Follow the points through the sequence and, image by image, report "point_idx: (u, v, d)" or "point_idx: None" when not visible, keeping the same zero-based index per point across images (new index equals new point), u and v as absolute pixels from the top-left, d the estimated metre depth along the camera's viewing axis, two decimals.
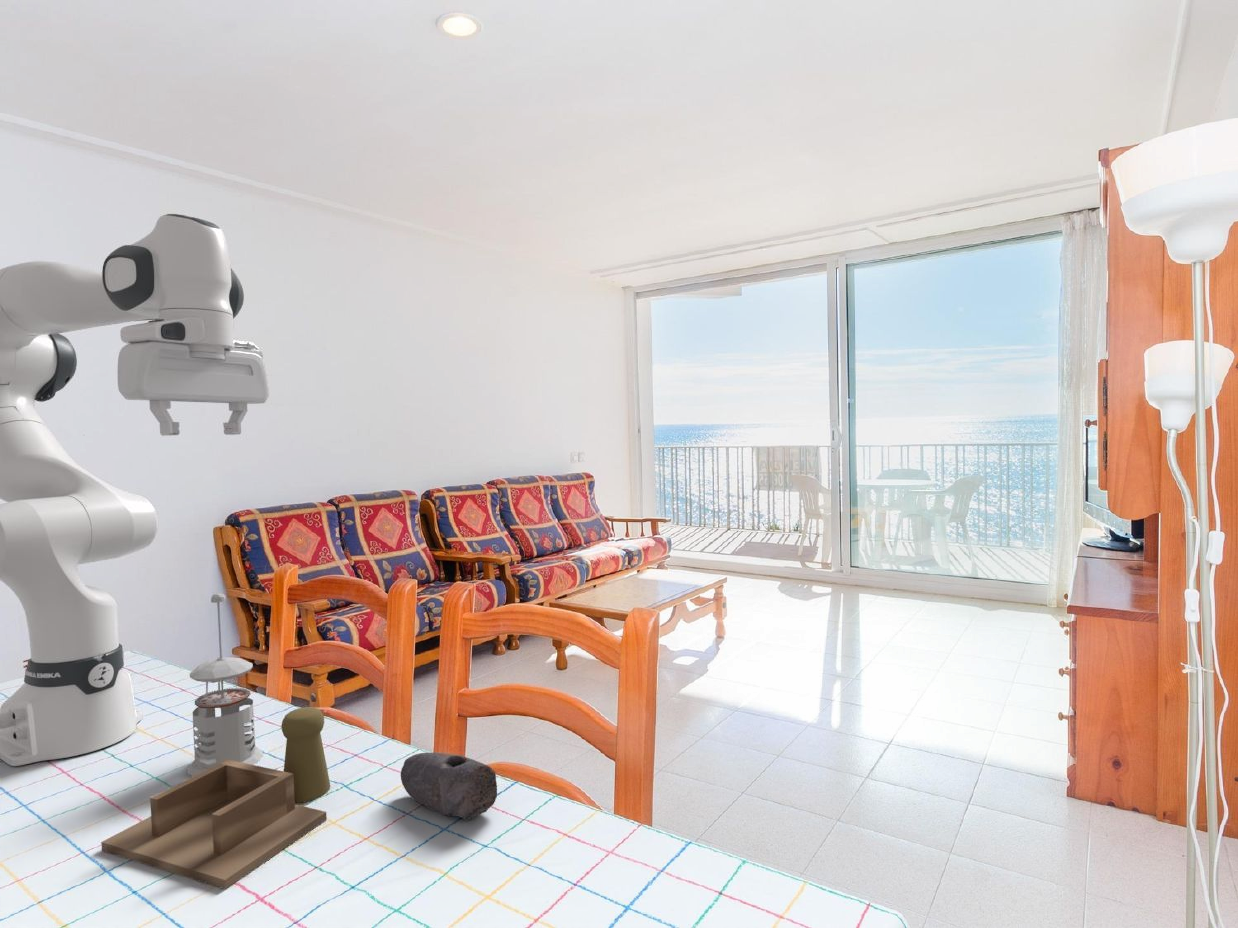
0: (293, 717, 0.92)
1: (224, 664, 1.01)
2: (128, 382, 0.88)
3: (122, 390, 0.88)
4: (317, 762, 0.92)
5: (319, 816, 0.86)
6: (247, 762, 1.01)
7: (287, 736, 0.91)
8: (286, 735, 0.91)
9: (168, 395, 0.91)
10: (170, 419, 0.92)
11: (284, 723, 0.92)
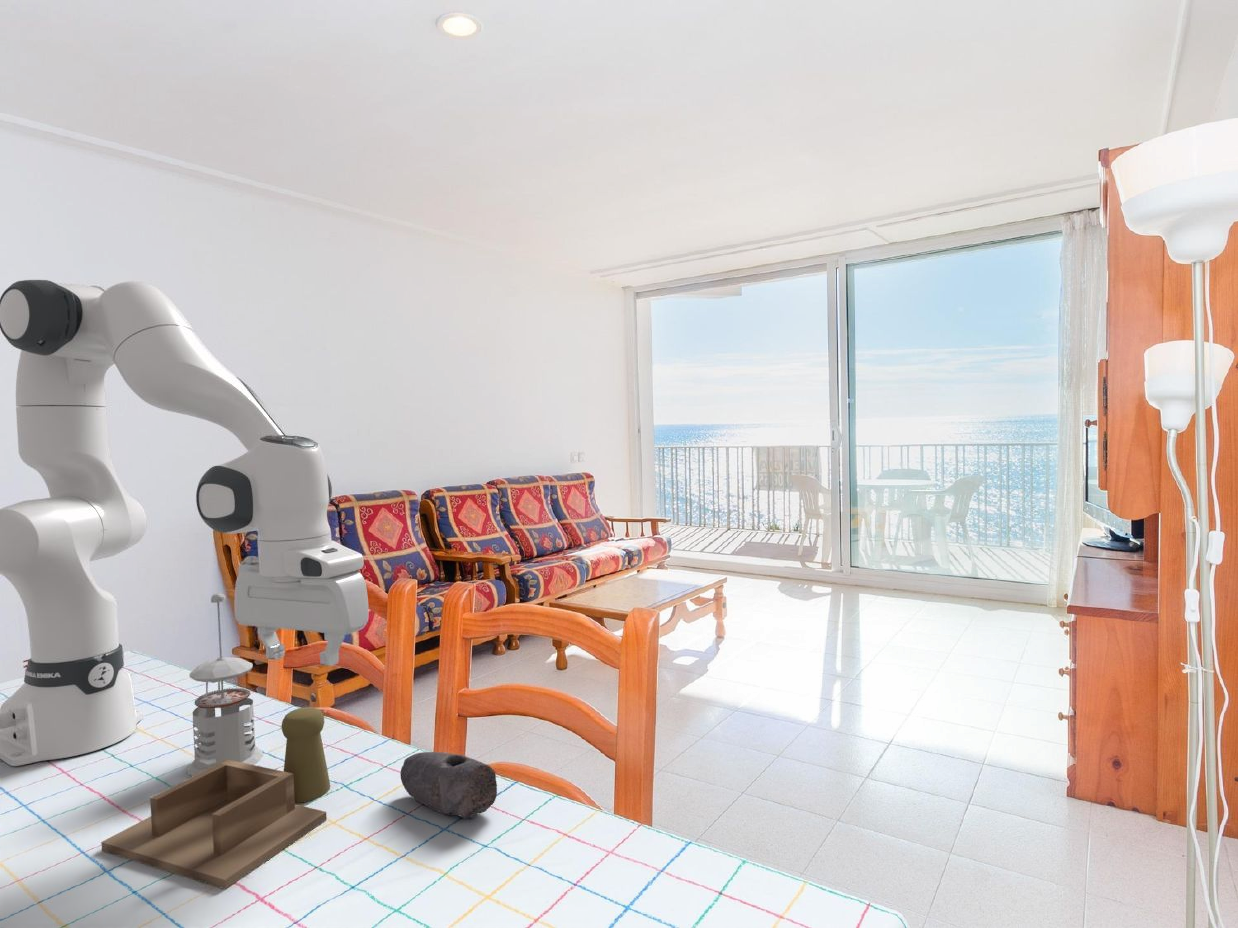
0: (293, 717, 0.92)
1: (224, 664, 1.01)
2: (360, 615, 0.89)
3: (355, 624, 0.88)
4: (317, 762, 0.92)
5: (319, 816, 0.86)
6: (247, 762, 1.01)
7: (287, 736, 0.91)
8: (286, 735, 0.91)
9: None
10: None
11: (284, 723, 0.92)
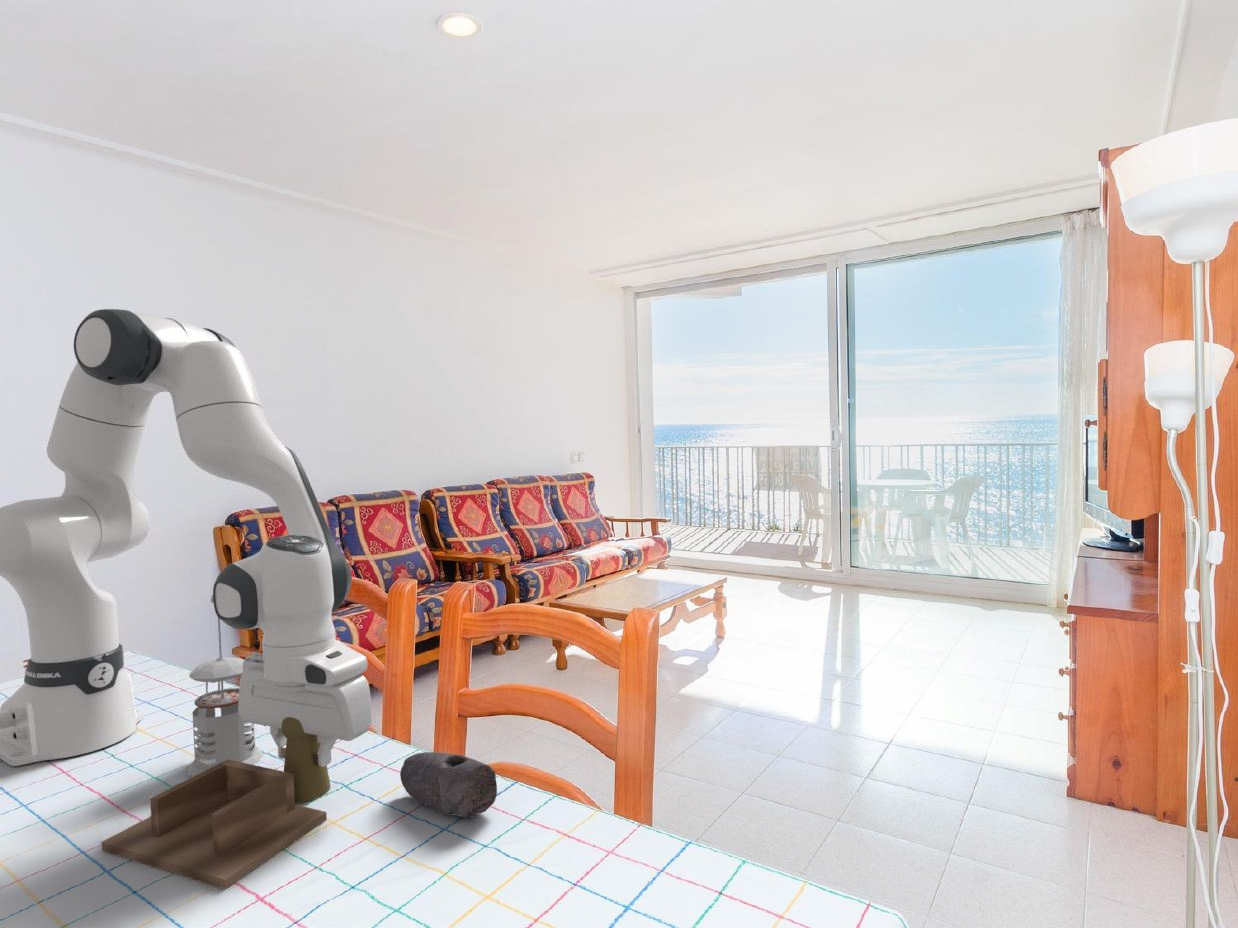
0: None
1: (224, 664, 1.01)
2: (364, 720, 0.90)
3: (358, 730, 0.89)
4: None
5: (319, 816, 0.86)
6: (247, 762, 1.01)
7: (287, 736, 0.91)
8: (286, 735, 0.91)
9: None
10: None
11: (284, 723, 0.92)
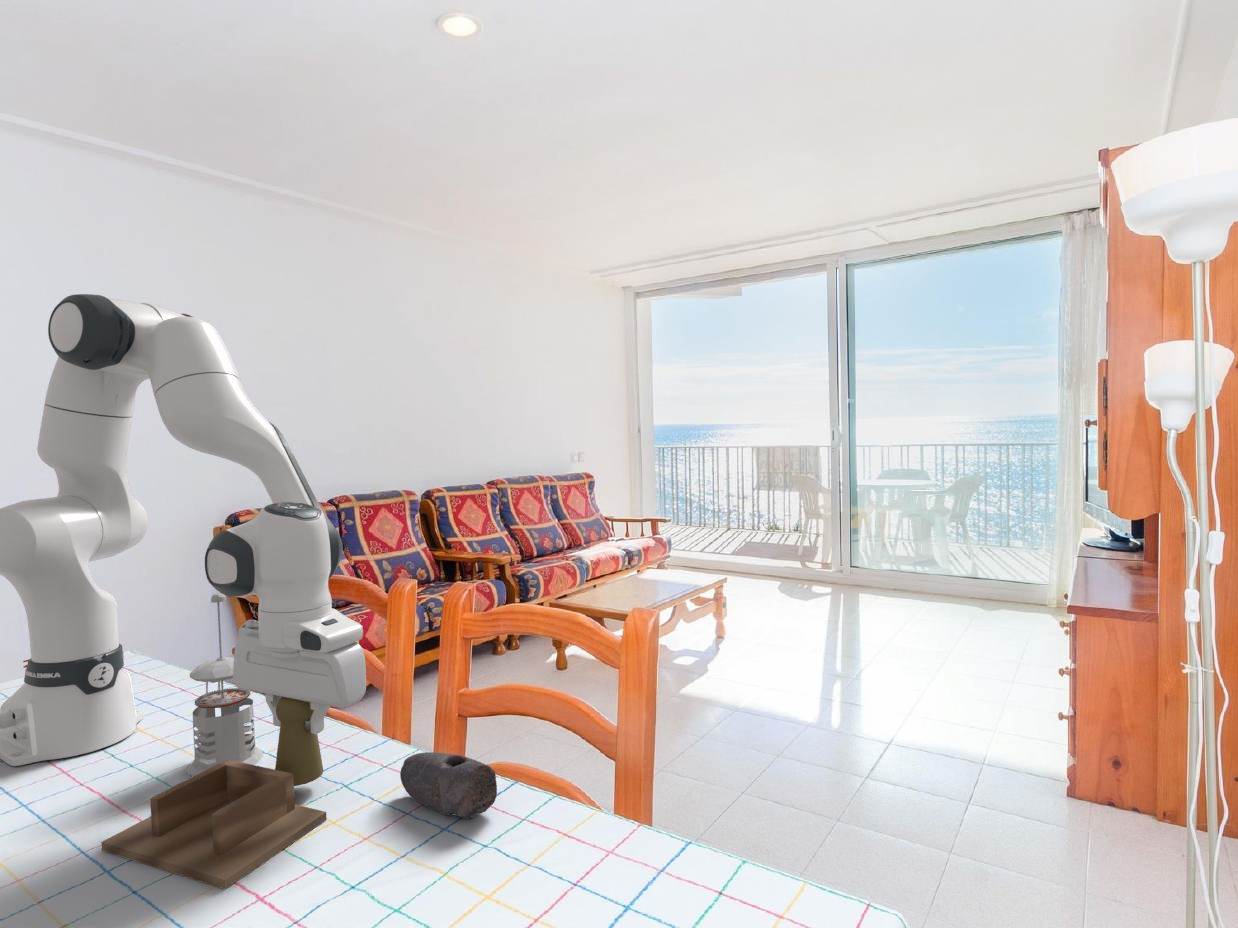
0: (287, 700, 0.91)
1: (224, 664, 1.01)
2: (358, 688, 0.89)
3: (352, 698, 0.88)
4: (310, 746, 0.92)
5: (319, 816, 0.86)
6: (247, 762, 1.01)
7: (281, 719, 0.91)
8: (280, 718, 0.91)
9: None
10: None
11: (278, 706, 0.91)
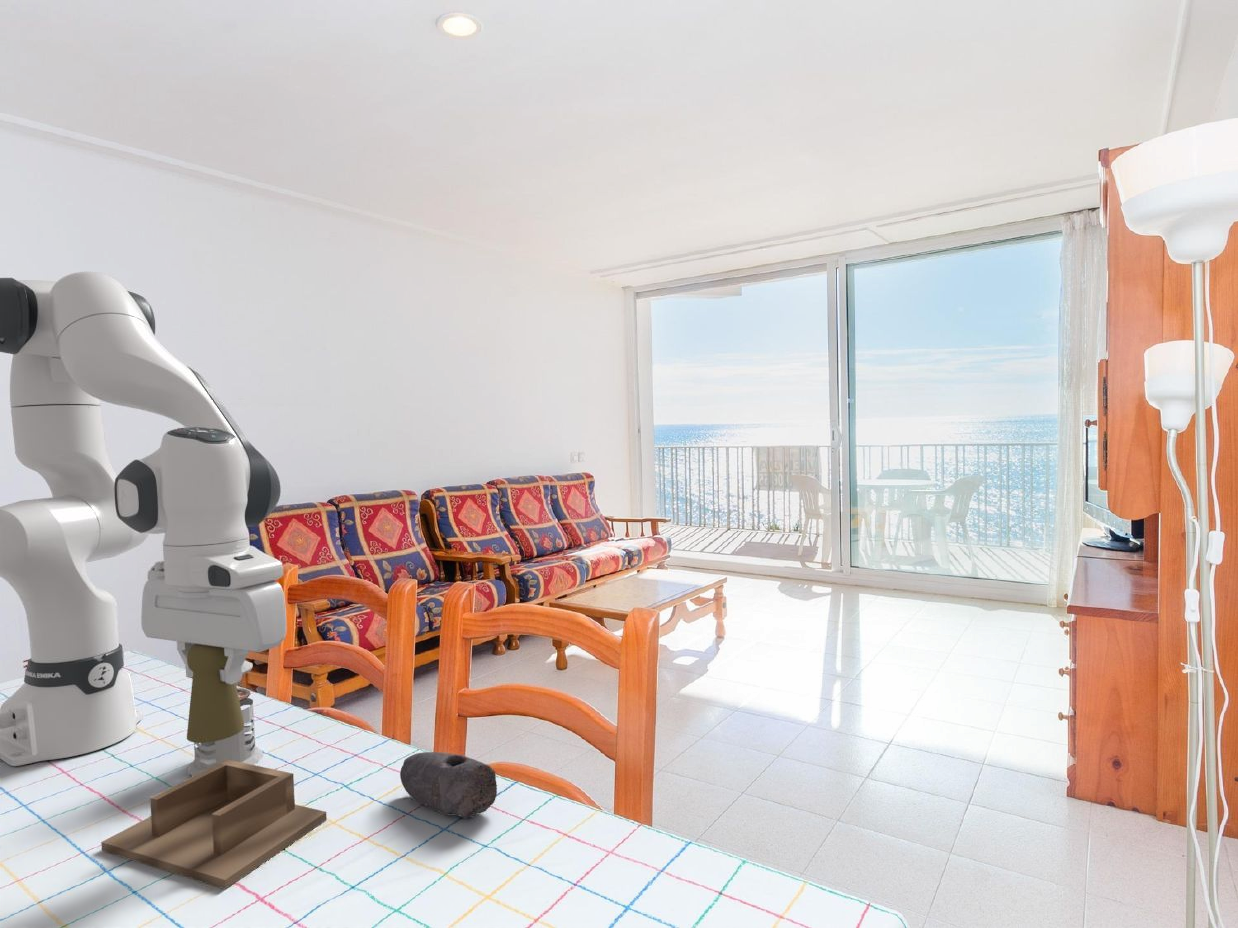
0: (198, 647, 0.82)
1: None
2: (276, 630, 0.80)
3: (268, 640, 0.79)
4: (227, 699, 0.83)
5: (319, 816, 0.86)
6: (247, 762, 1.01)
7: (192, 668, 0.81)
8: (191, 667, 0.81)
9: None
10: None
11: (189, 654, 0.82)
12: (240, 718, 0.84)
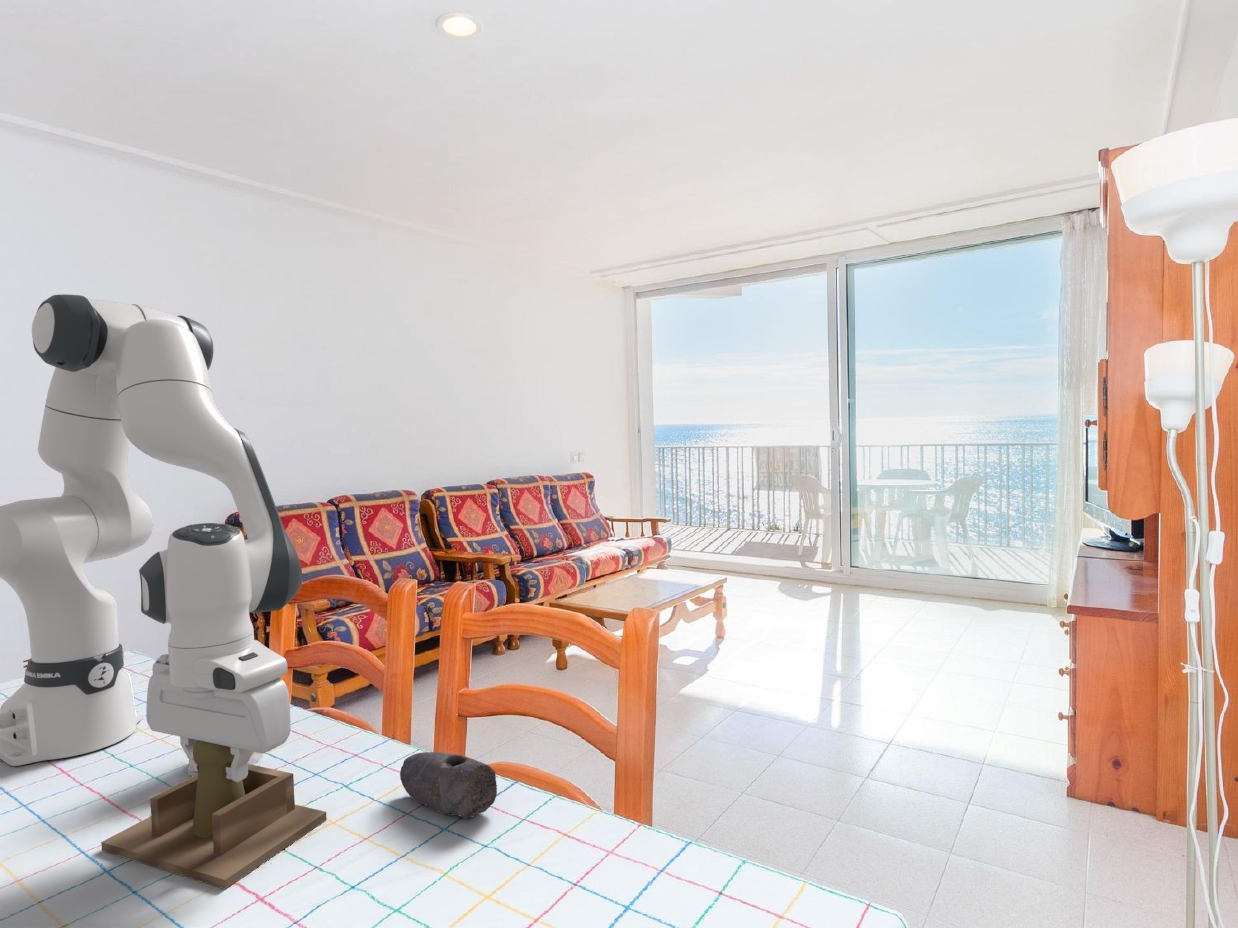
0: (204, 742, 0.82)
1: None
2: (280, 730, 0.80)
3: (273, 741, 0.79)
4: (232, 792, 0.83)
5: (319, 816, 0.86)
6: None
7: (197, 763, 0.82)
8: (196, 762, 0.82)
9: None
10: None
11: (195, 748, 0.82)
12: None
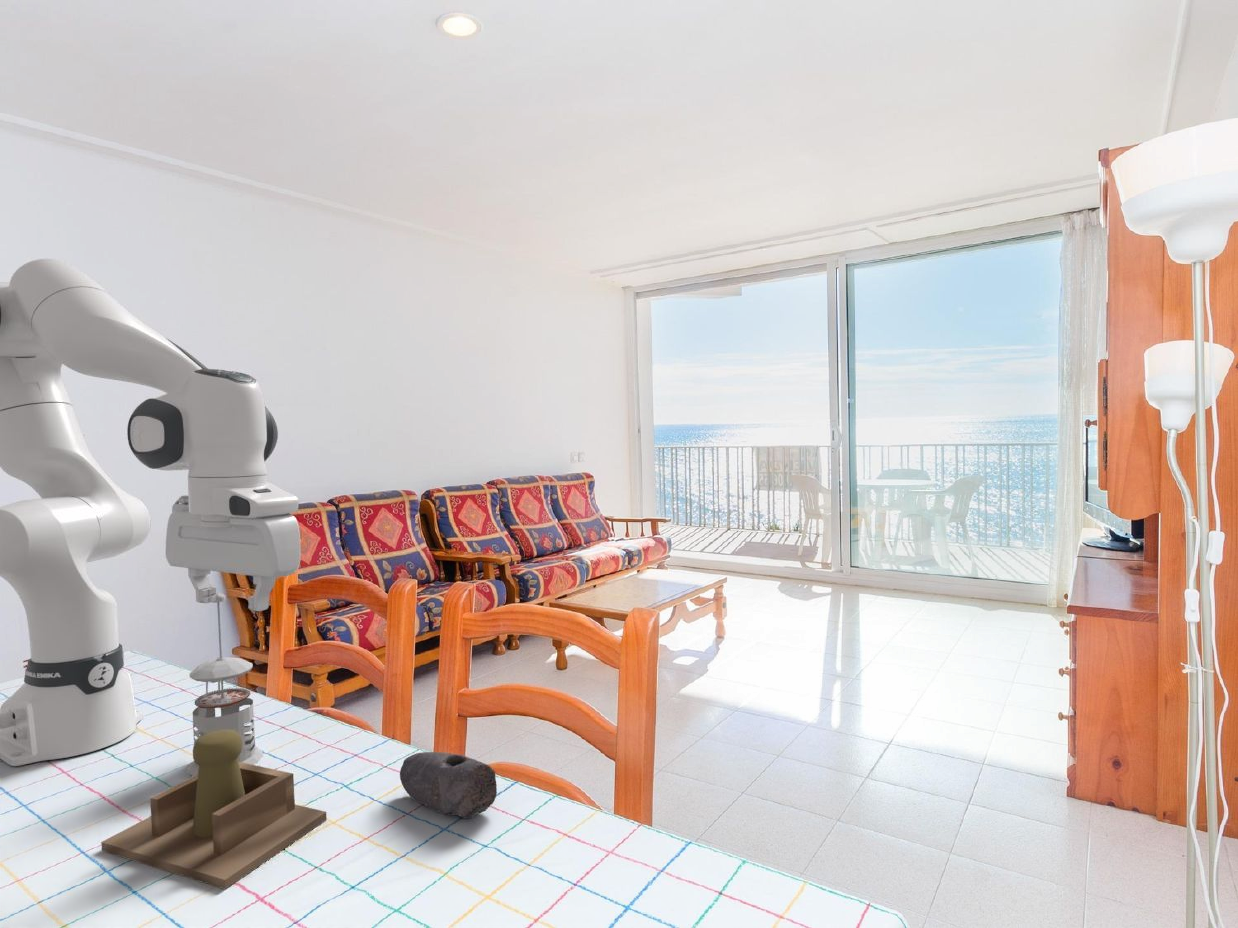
0: (204, 742, 0.82)
1: (224, 664, 1.01)
2: (291, 559, 0.85)
3: (284, 568, 0.84)
4: (232, 792, 0.83)
5: (319, 816, 0.86)
6: (247, 762, 1.01)
7: (197, 763, 0.82)
8: (196, 762, 0.82)
9: None
10: None
11: (195, 748, 0.82)
12: None
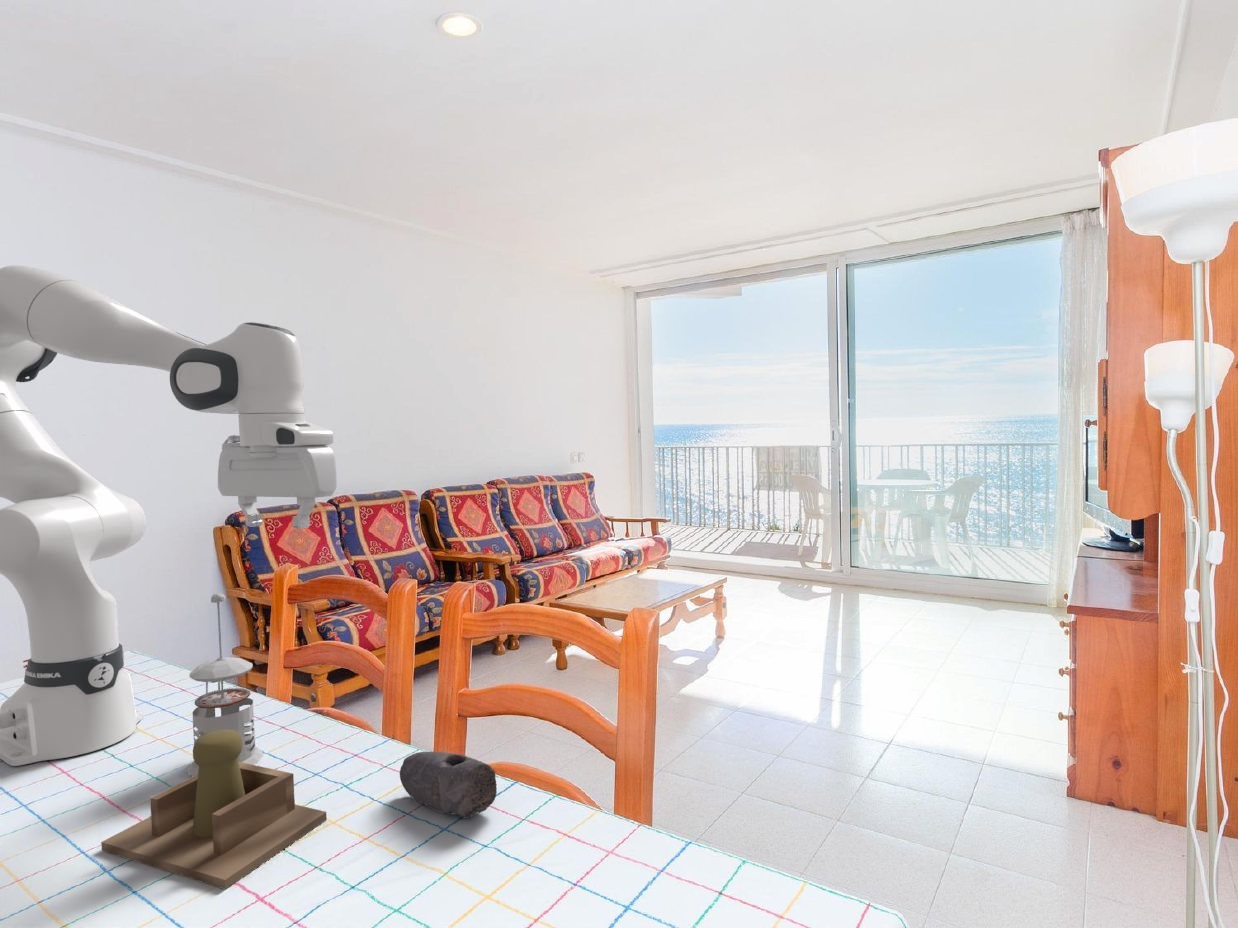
0: (204, 742, 0.82)
1: (224, 664, 1.01)
2: (329, 482, 1.00)
3: (323, 489, 0.99)
4: (232, 792, 0.83)
5: (319, 816, 0.86)
6: (247, 762, 1.01)
7: (197, 763, 0.82)
8: (196, 762, 0.82)
9: None
10: None
11: (195, 748, 0.82)
12: None
